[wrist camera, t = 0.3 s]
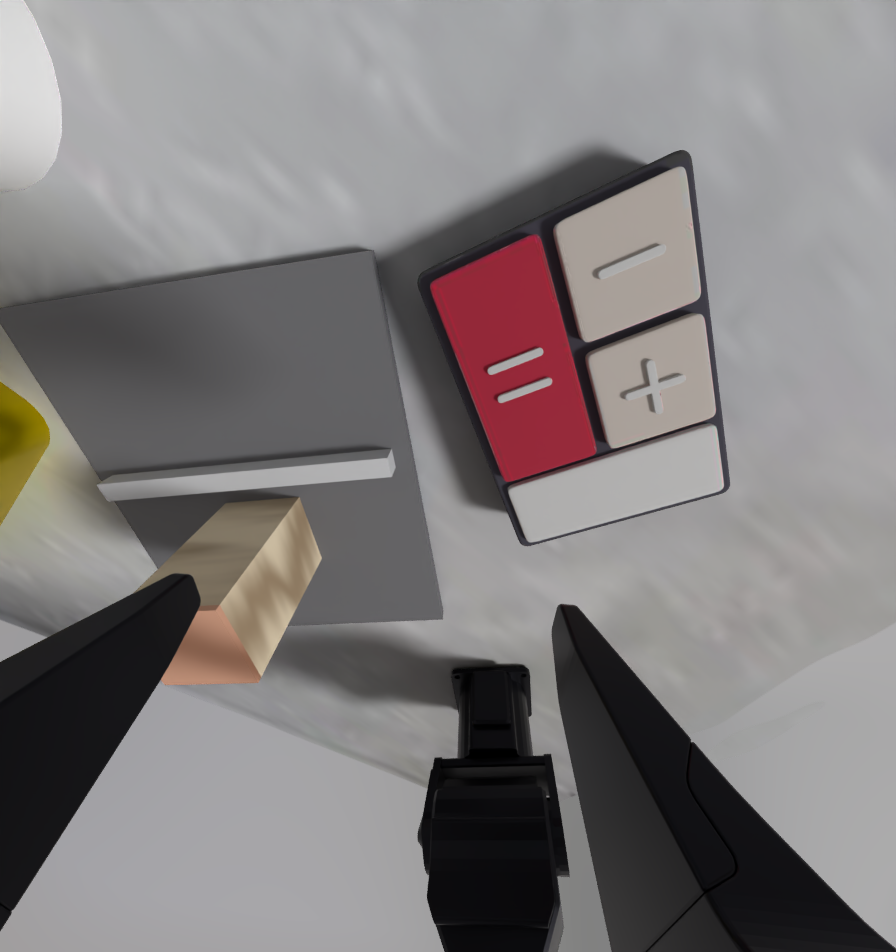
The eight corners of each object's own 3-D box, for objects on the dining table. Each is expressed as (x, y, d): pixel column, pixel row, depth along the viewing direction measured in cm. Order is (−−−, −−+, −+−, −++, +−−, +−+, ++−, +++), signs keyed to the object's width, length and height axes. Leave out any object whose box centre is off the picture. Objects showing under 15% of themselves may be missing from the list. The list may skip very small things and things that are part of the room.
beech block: (321, 558, 27) (258, 682, 19) (254, 562, 27) (165, 685, 19) (299, 497, 24) (215, 610, 16) (225, 503, 25) (110, 615, 17)
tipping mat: (443, 610, 30) (441, 632, 28) (203, 621, 32) (187, 642, 30) (373, 250, 18) (363, 249, 16) (7, 307, 20) (-36, 312, 19)
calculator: (703, 135, 13) (741, 499, 19) (653, 168, 17) (697, 463, 23) (409, 275, 16) (523, 557, 21) (424, 276, 19) (516, 516, 25)
